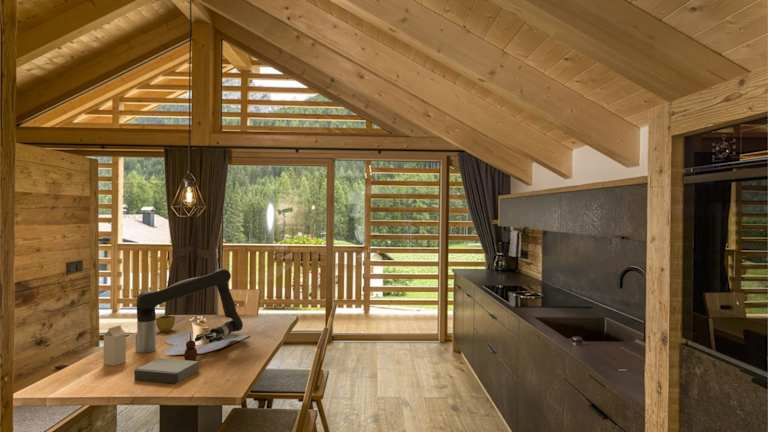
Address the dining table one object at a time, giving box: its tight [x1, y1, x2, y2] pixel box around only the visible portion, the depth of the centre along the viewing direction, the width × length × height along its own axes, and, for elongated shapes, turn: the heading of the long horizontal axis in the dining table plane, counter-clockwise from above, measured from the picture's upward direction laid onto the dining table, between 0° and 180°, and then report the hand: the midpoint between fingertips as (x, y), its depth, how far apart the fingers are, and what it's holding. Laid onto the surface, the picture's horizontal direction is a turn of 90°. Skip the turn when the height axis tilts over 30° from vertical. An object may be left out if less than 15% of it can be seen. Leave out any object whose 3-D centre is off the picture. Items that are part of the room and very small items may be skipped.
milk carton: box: [103, 324, 127, 367], centre depth 239 cm, size 7×7×19 cm
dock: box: [133, 357, 200, 385], centre depth 222 cm, size 22×17×5 cm
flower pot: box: [156, 314, 176, 333], centre depth 303 cm, size 9×9×9 cm
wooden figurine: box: [183, 332, 198, 361], centre depth 241 cm, size 7×6×15 cm
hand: (202, 340), depth 251 cm, fingers open, 8 cm apart
